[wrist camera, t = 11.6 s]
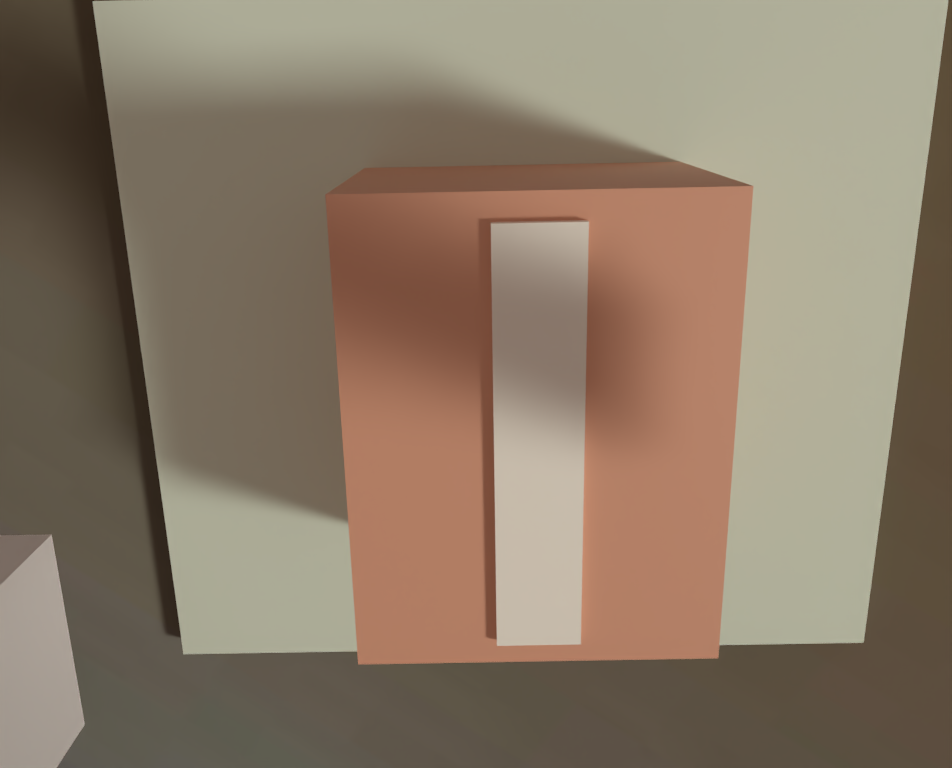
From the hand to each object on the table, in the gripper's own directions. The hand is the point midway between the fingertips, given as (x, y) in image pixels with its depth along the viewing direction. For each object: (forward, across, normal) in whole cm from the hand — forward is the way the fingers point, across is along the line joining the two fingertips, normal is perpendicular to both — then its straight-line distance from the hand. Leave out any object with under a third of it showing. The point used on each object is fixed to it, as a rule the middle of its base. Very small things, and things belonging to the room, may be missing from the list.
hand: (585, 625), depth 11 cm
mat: (+11, 0, 0) cm, 11 cm away
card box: (+11, 0, 0) cm, 11 cm away
